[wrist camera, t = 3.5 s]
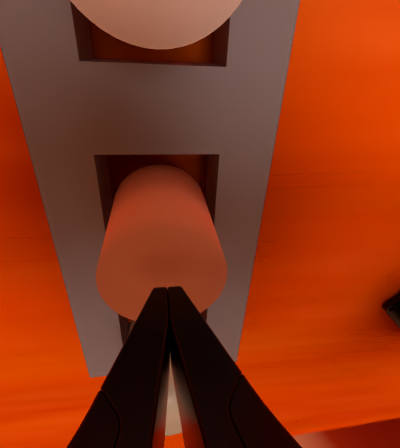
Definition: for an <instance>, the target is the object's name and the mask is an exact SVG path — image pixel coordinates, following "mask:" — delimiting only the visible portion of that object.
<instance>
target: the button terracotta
mask: <svg viewBox="0 0 400 448" xmlns="http://www.w3.org/2000/svg"><path fill="white" fill-rule="evenodd" d="M227 271H228V269H227V263H226V260H225V256H224V254H223V251H222V248H221V245H220V242H219V239H218V236H217V233H216V230H215V227H214V225H213V222H212V219H211V216H210V213H209V210H208V207H207V204H206V201H205V198H204V196H203V193H202V190H201V188H200V186H199V185H198V183H197V182H196V180H195V179H194V178H193V177H192V176H190V175H189V174H188V173H186V172H185V171H183V170H181V169H179V168H177V167H174V166H169V165H161V164H157V165H149V166H145V167H142V168H139V169H137V170H135V171H134V172H132V173H131V174H129V175H128V176H127V177H126V178H125V179H124V180H123V181H122V182H121V184H120V185H119V187H118V189H117V191H116V194H115V198H114V202H113V206H112V210H111V214H110V218H109V222H108V226H107V230H106V234H105V238H104V242H103V246H102V250H101V254H100V258H99V262H98V266H97V270H96V285H97V288H98V291H99V293H100V295H101V297H102V299H103V300H104V302H105V303H106V304H107V305H108V306H109V307H110V308H111V309H112V310H114V311H115V312H116V313H118V314H120V315H121V316H123V317H126V318H128V319H131V320H133V321H136V320H137V318H138V316H139V314H140V312H141V310H142V308H143V306H144V304H145V302H146V301H147V299H148V297H149V295H150V293H151V291H152V289H153V288H155V287H166V288H167V289H168V287H170V286H181V287H182V288H183V289H184V291H185V292H186V294H187V295H188V296H189V298H190V299H191V301H192V302H193V304H194V305H195V306H196V308H197V309H198V311H199V312H200V313H201V312H203V311H204V310H206V309H207V308H208V307H209V306H211V305H212V304H213V303H214V302H215V301H216V300H217V298H218V297H219V296H220V294H221V292H222V291H223V289H224V286H225V284H226V280H227Z"/></svg>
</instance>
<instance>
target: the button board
mask: <svg viewBox="0 0 400 448" xmlns="http://www.w3.org/2000/svg"><path fill="white" fill-rule="evenodd" d="M299 2H300V0H242V1H241V3H240V4H239V6H238V7H237V8H236V10H235V11H234V12H233V13H232V15H231V16H230V17H229V18H228V19H227V20H226V21H225V22H224V23H223V24H222V25H221V26H220V27H219V28H217V29H216V30H215V31H214V40H213V58H212V63H197V62H173V61H149V60H125V59H100V58H94V54H93V46H92V38H91V31H90V23H89V19H88V18H87V17H86V16H85V15H84V14H83V13H81V12H80V11H79V10H78V9H77V8H76V7H75V5H74V4H73V3H72V2H71V1H70V0H0V46H1V50H2V53H3V57H4V61H5V64H6V68H7V72H8V76H9V79H10V83H11V87H12V90H13V94H14V98H15V101H16V105H17V109H18V113H19V116H20V120H21V124H22V127H23V131H24V135H25V138H26V142H27V146H28V150H29V153H30V157H31V161H32V164H33V168H34V172H35V176H36V179H37V183H38V187H39V190H40V194H41V198H42V201H43V205H44V209H45V213H46V216H47V220H48V224H49V227H50V231H51V235H52V238H53V242H54V246H55V250H56V253H57V257H58V261H59V264H60V268H61V272H62V275H63V279H64V283H65V287H66V290H67V294H68V298H69V301H70V305H71V309H72V312H73V316H74V320H75V324H76V327H77V331H78V335H79V338H80V342H81V346H82V349H83V353H84V357H85V361H86V364H87V368H88V372H89V375H90V377H99V376H107V375H108V373H109V371H110V369H111V367H112V365H113V363H114V362H115V360H116V358H117V356H118V354H119V352H120V350H121V348H122V346H123V344H124V342H125V341H126V339H127V337H128V335H129V331H130V324H131V323H129V324H128V318H126V317H123V316H121V315H120V314H118V313H116V312H115V311H114V310H112V309H111V308H110V307H109V306H108V305H107V304H106V303H105V302H104V300H103V299H102V297H101V295H100V293H99V291H98V288H97V285H96V270H97V266H98V262H99V258H100V254H101V250H102V246H103V242H104V238H105V234H106V230H107V226H108V222H109V218H110V214H111V210H112V206H113V201H112V193H111V185H110V178H109V170H108V162H107V155H161V154H207V167H206V185H205V201H206V204H207V207H208V210H209V213H210V216H211V219H212V222H213V225H214V227H215V230H216V233H217V236H218V239H219V242H220V245H221V248H222V251H223V254H224V256H225V260H226V263H227V269H228V271H227V280H226V284H225V286H224V289H223V291H222V292H221V294H220V296H219V297H218V298H217V300H216V301H215V302H214V303H213V304H212V305H211V306H209V307H208V308H207V309H206V310H204V311H203V312H201V313H200V314H201V315H202V316H203V318H204V319H205V321H206V322H207V324H208V325H209V326H210V328H211V329H212V331H213V332H214V334H215V335H216V336H217V338H218V339H219V341H220V342H221V344H222V345H223V346H224V348H225V349H226V351H227V352H228V354H229V355H230V356H231V358H232V359H233V361H234V362H236V361H237V356H238V350H239V344H240V338H241V333H242V327H243V321H244V316H245V310H246V304H247V299H248V293H249V287H250V282H251V276H252V270H253V264H254V259H255V253H256V247H257V242H258V236H259V230H260V225H261V219H262V213H263V207H264V202H265V196H266V190H267V185H268V179H269V173H270V168H271V162H272V156H273V151H274V145H275V139H276V133H277V128H278V122H279V116H280V111H281V105H282V99H283V94H284V88H285V82H286V77H287V71H288V65H289V59H290V54H291V48H292V42H293V37H294V31H295V25H296V20H297V14H298V8H299Z"/></svg>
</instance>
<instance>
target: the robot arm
mask: <svg viewBox="0 0 400 448" xmlns="http://www.w3.org/2000/svg"><path fill="white" fill-rule="evenodd" d="M383 309H384V310H385V311H386V312H387V314H388V315H389V316H390V317H391V318H392V320H393V321H394V322H395V323H396V324H397V325H398V327H399V328H400V294H399V295H398V296H396V297H395V298H393V299H391V300H390V301H388V302H387V303H385V304H384V305H383ZM170 360H171V368H172V374H173V380H174V386H175V392H176V398H177V404H178V409H179V415H180V421H181V427H182V433H183V439H184V445H185V448H302V447H301V446H300V445H299V444H298V443H297V441H296V440H295V439H294V438H293V437H292V436H291V435H290V433H289V432H288V431H287V430H286V429H285V428H284V427H283V425H282V424H281V423H280V422H279V421H278V419H277V418H276V417H275V416H274V415H273V413H272V412H271V411H270V410H269V409H268V407H267V406H266V405H265V404H264V402H263V401H262V400H261V398H260V397H259V396H258V394H257V393H256V392H255V390H254V389H253V388H252V386H251V385H250V383H249V382H248V380H247V379H246V378H245V376H244V375H241V374H242V372H241V371H240V369H239V368H238V366H237V365H236V364H235V362H234V361H233V359H232V358H231V356H230V355H229V354H228V352H227V351H226V349H225V348H224V346H223V345H222V344H221V342H220V341H219V339H218V338H217V336H216V335H215V334H214V332H213V331H212V329H211V328H210V326H209V325H208V324H207V322H206V321H205V319H204V318H203V316H202V315H201V314H200V312H199V311H198V309H197V308H196V306H195V305H194V304H193V302H192V301H191V299H190V298H189V296H188V295H187V294H186V292H185V291H184V289H183V288H182V287H181V286H170V287H168V289H167V288H166V287H155V288H153V289H152V291H151V293H150V295H149V297H148V299H147V301H146V302H145V304H144V306H143V308H142V310H141V312H140V314H139V316H138V318H137V320H136V322H135V323H134V325H133V327H132V329H131V331H130V333H129V335H128V337H127V339H126V341H125V342H124V344H123V346H122V348H121V350H120V352H119V354H118V356H117V358H116V360H115V362H114V363H113V365H112V367H111V369H110V371H109V373H108V375H107V377H106V379H105V381H104V382H103V384H102V386H101V390H100V391H99V392H98V394H97V396H96V397H95V399H94V401H93V403H92V405H91V407H90V409H89V410H88V412H87V414H86V416H85V418H84V419H83V421H82V423H81V425H80V427H79V428H78V430H77V432H76V433H75V435H74V436H73V438H72V440H71V441H70V443H69V444H68V446H67V448H164V442H165V428H166V414H167V400H168V386H169V372H170Z"/></svg>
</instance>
